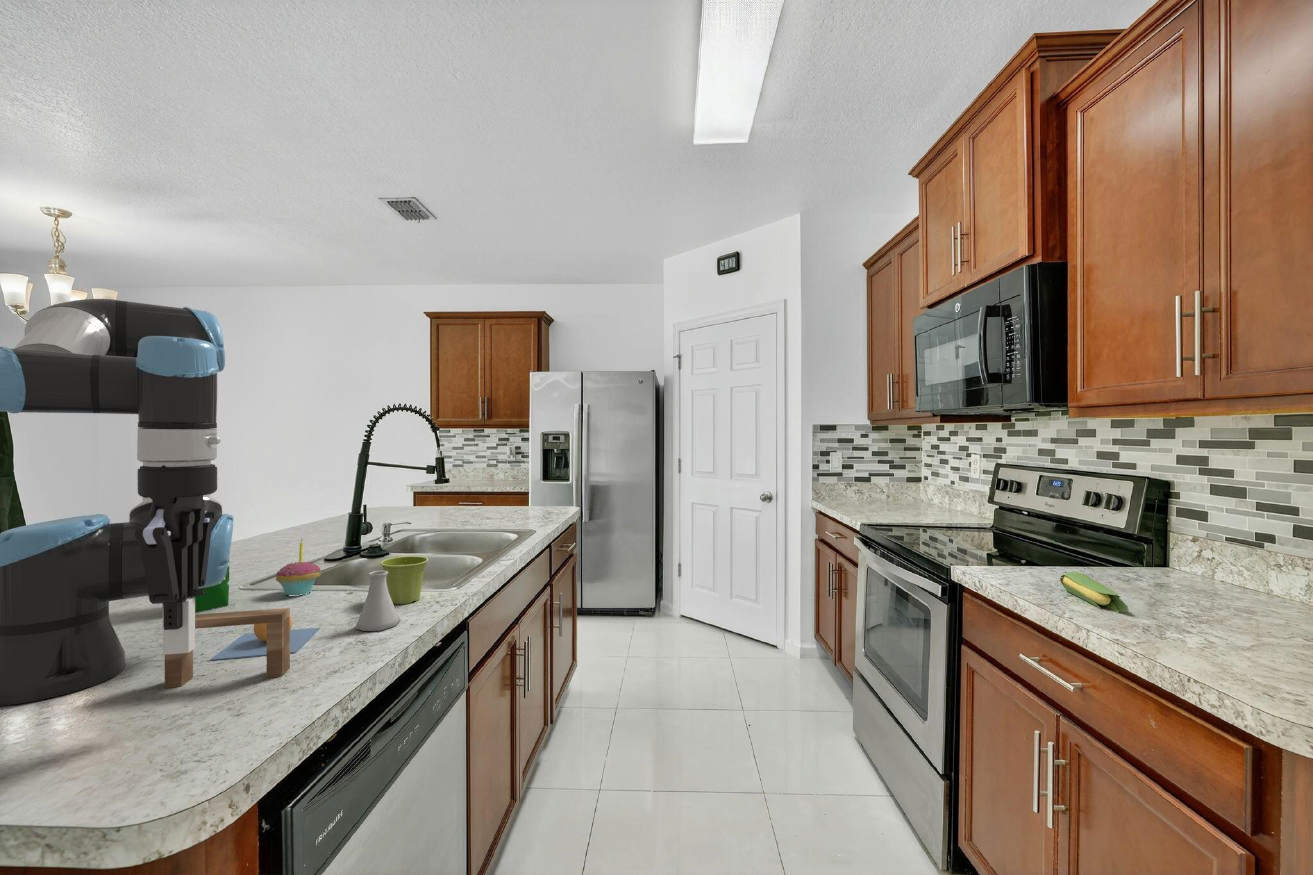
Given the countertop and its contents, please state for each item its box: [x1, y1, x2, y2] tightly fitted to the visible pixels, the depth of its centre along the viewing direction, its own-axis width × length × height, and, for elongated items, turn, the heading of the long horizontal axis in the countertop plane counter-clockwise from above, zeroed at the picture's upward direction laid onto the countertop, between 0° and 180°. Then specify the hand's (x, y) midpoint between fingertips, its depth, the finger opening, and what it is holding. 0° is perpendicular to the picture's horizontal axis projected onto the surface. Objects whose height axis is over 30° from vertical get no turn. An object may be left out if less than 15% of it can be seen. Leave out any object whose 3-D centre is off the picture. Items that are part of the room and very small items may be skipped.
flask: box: [354, 570, 401, 632], centre depth 104 cm, size 7×7×10 cm
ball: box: [253, 615, 293, 642], centre depth 96 cm, size 6×6×6 cm
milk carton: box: [194, 560, 230, 614], centre depth 116 cm, size 9×9×20 cm
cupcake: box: [275, 538, 321, 596], centre depth 125 cm, size 9×8×12 cm
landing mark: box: [209, 627, 321, 662], centre depth 95 cm, size 12×12×1 cm
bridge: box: [164, 607, 291, 689], centre depth 82 cm, size 3×14×9 cm, turn 105°
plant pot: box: [380, 555, 429, 605], centre depth 120 cm, size 9×9×9 cm
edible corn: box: [1059, 571, 1130, 614], centre depth 119 cm, size 5×20×5 cm
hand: (179, 651), depth 70 cm, fingers closed
